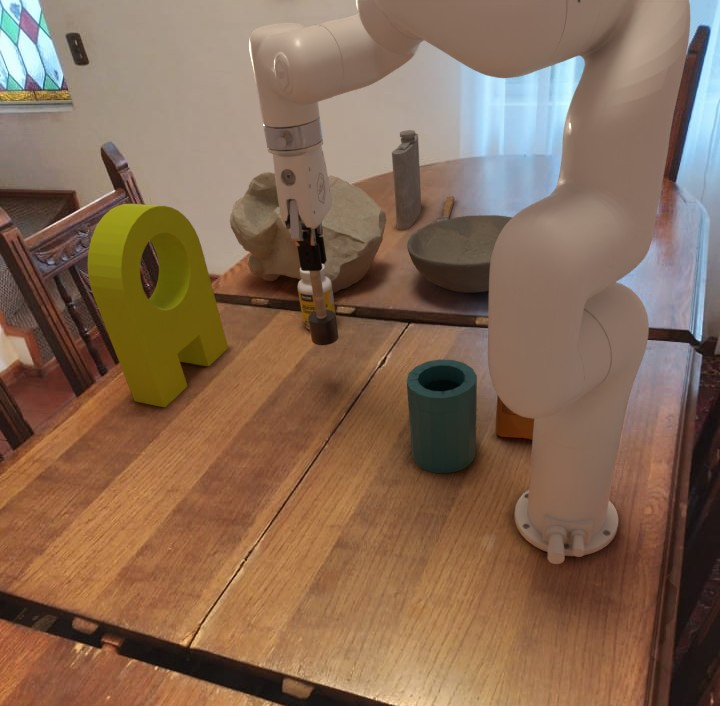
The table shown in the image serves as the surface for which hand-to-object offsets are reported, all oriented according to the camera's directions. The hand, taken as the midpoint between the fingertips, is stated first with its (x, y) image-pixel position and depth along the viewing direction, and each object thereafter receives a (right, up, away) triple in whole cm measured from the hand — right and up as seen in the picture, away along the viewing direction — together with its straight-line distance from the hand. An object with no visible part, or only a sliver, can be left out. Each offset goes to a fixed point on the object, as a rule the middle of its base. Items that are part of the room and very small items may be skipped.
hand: (314, 265), depth 101 cm
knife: (+27, +29, +63) cm, 74 cm away
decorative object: (-25, -13, +22) cm, 36 cm away
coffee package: (+33, -23, +1) cm, 40 cm away
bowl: (+30, +8, +38) cm, 49 cm away
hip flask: (+20, +32, +68) cm, 78 cm away
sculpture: (-2, +12, +49) cm, 50 cm away
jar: (+19, -28, -3) cm, 34 cm away
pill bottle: (-1, -2, +31) cm, 31 cm away
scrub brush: (+1, -9, +8) cm, 12 cm away
